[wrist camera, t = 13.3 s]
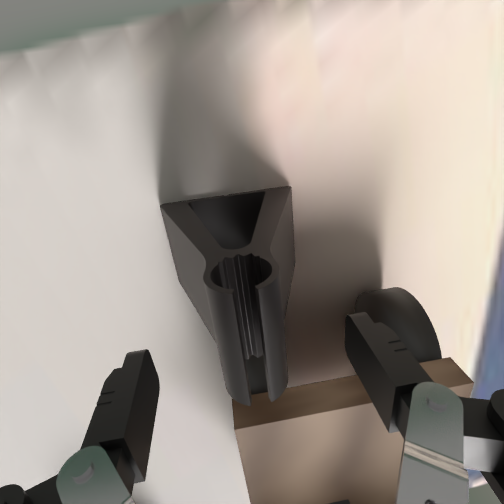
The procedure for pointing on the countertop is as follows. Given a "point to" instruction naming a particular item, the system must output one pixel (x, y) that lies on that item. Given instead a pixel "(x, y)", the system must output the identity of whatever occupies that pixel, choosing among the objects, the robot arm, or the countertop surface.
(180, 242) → the phone stand
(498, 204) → the countertop surface
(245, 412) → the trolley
